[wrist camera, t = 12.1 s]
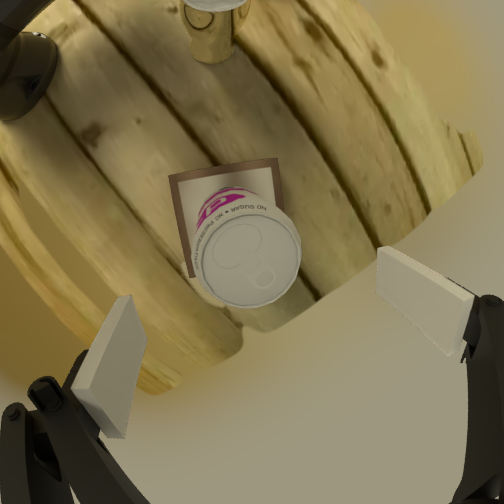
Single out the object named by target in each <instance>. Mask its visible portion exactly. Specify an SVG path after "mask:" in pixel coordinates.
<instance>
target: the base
mask: <svg viewBox="0 0 504 504" xmlns="http://www.w3.org/2000/svg"><path fill="white" fill-rule="evenodd" d="M169 182H170V188H171V193H172V199H173V204H174V209H175V214H176V219H177V224H178V229H179V234H180V239H181V243H182V248H183V252H184V257H185V261H186V265H187V269H188V274H189V278H193V277H196V276H195V272H194V268H193V264H192V259H191V254H192V248H193V241H194V235H195V230H196V225H197V220H198V214H199V209H200V208H201V206H202V204H203V203H204V201H205V199H206V198H207V197H208V196H210V195H211V194H212V193H213V192H214V191H216V190H219V189H222V188H224V187H227V186H231V187H242V188H245V189H247V190H250V191H252V192H254V193H255V194H257V195H259V196H260V197H262V198H263V199H265V200H267V201H268V202H270V203H271V204H273V205H274V206H276V207H278V208H279V209H280V210H281V211H282V212H283V213H284V206H283V198H282V190H281V182H280V174H279V166H278V159H277V158H271V159H263V160H255V161H248V162H241V163H234V164H228V165H221V166H215V167H210V168H204V169H198V170H193V171H188V172H183V173H178V174H173V175H169Z"/></svg>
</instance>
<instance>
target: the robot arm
mask: <svg viewBox="0 0 504 504" xmlns="http://www.w3.org/2000/svg"><path fill="white" fill-rule="evenodd" d="M54 1H55V0H0V120H14V119H17V118H19V117H21V116H23V115H24V114H26V113H27V112H28V111H29V110H30V109H31V108H33V106H34V105H35V104H36V103H37V102H38V101H39V99H40V98H41V97H42V95H43V94H44V92H45V91H46V89H47V87H48V85H49V83H50V81H51V79H52V77H53V74H54V71H55V67H56V63H57V48H56V45H55V43H54V42H53V40H52V39H50V38H49V37H48V36H46V35H45V34H42V33H39V32H21V31H22V30H23V29H24V28H25V27H26V26H27V25H28V24H29V23H30V22H31V21H32V20H33V19H34V18H35V17H37V16H38V15H39V14H40V13H41V12H42V11H43V10H44V9H45V8H47V7H48V6H49V5H50V4H51V3H52V2H54ZM376 293H377V294H378V295H379V296H381V297H382V298H383V299H384V300H385V301H386V302H387V303H389V304H390V305H391V306H392V307H393V308H394V309H396V310H397V311H398V312H399V313H400V314H401V315H403V316H404V317H405V318H406V319H407V320H408V321H409V322H411V323H412V324H413V325H414V326H415V327H416V328H417V329H418V330H419V331H421V332H422V333H423V334H424V335H425V336H426V337H427V338H428V339H430V340H431V341H432V342H433V343H434V344H435V345H436V346H437V347H438V348H439V349H441V351H442V352H444V353H445V354H446V355H447V356H450V355H451V354H453V353H455V352H457V351H458V350H459V348H460V346H461V343H462V339H464V340H465V341H466V342H467V345H466V347H465V350H464V353H463V355H462V358H461V363H463V360H464V358H466V364H467V378H468V430H467V445H466V455H465V464H464V471H463V476H462V480H461V482H460V484H459V486H458V488H457V490H456V492H455V494H454V496H453V499H452V502H450V503H449V504H504V301H502V299H500V298H499V297H497V296H494V295H483V296H482V297H481V298H480V297H478V296H477V295H475V294H474V293H472V292H470V291H469V290H467V289H465V288H464V287H461V285H459V284H457V283H455V282H454V281H452V280H450V279H449V278H446V277H443V276H441V275H440V274H438V273H436V272H435V271H433V270H431V269H430V268H428V267H426V266H424V265H422V264H421V263H419V262H417V261H415V260H414V259H412V258H410V257H408V256H406V255H405V254H403V253H401V252H399V251H397V250H395V249H393V248H392V247H390V246H385V247H380V248H377V275H376ZM146 344H147V336H146V334H145V331H144V329H143V326H142V323H141V321H140V318H139V315H138V313H137V310H136V307H135V304H134V301H133V298H132V295H127V296H121V297H118V298H117V300H116V301H115V303H114V305H113V307H112V308H111V310H110V312H109V314H108V315H107V317H106V319H105V321H104V323H103V325H102V326H101V328H100V330H99V332H98V334H97V336H96V338H95V339H94V341H93V343H92V345H91V347H90V349H88V350H84V351H83V352H82V353H81V354H80V355H79V356H78V357H77V359H76V361H75V362H74V364H73V367H72V368H71V370H70V373H69V374H68V376H67V378H66V380H65V382H64V384H63V386H62V388H61V387H60V386H59V384H58V383H57V381H56V380H55V378H54V377H51V376H44V377H41V378H39V379H37V380H36V381H34V382H33V383H32V384H31V385H30V387H29V389H28V394H27V395H28V397H29V398H30V400H31V401H32V402H33V404H34V405H35V406H36V408H37V409H38V410H33V411H28V410H27V409H26V408H25V407H24V405H23V404H22V403H19V402H17V403H13V404H11V405H9V406H8V407H6V409H5V410H4V412H3V415H2V420H1V430H0V493H1V503H2V504H74V500H73V496H72V493H71V489H70V486H71V488H72V490H73V491H74V493H75V495H76V497H77V499H78V500H79V502H80V504H150V503H149V502H148V500H147V499H146V498H145V497H144V496H143V495H142V494H141V492H140V491H139V490H138V489H137V488H136V487H135V485H134V484H133V483H132V482H131V481H130V479H129V478H128V477H127V475H126V474H125V473H124V472H123V470H122V469H121V468H120V466H119V465H118V463H117V462H116V461H115V459H114V458H113V457H112V455H111V454H110V452H109V451H108V449H107V448H106V446H105V445H104V443H103V442H102V441H101V440H100V438H99V437H98V436H99V432H100V429H101V431H102V432H103V433H104V434H105V435H106V436H107V438H122V439H125V435H126V430H127V425H128V420H129V414H130V410H131V405H132V400H133V396H134V392H135V387H136V383H137V379H138V375H139V371H140V367H141V363H142V359H143V355H144V351H145V347H146ZM69 484H70V485H69ZM497 496H499V499H495V498H496V497H497Z"/></svg>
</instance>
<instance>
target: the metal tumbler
mask: <svg viewBox="0 0 504 504" xmlns="http://www.w3.org/2000/svg"><path fill="white" fill-rule="evenodd" d="M250 3H251V0H179V6H180V15H181V19H182V22H183V25H184V27H185V29H186V31H187V32H188V34H189V35H190V37H191V38H192V39H191V42H190V52H191V54H192V55H193V57H194V58H195V59H196V60H198V61H200V62H202V63H206V64H216V63H220V62H222V61H224V60H226V59H227V58H229V57H230V56H231V54H232V53H233V51H234V47H235V42H234V37H235V36H236V34H237V33H238V32H239V30H240V29H241V27H242V26H243V24H244V22H245V20H246V18H247V15H248V12H249V8H250Z"/></svg>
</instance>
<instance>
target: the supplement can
mask: <svg viewBox="0 0 504 504" xmlns="http://www.w3.org/2000/svg"><path fill="white" fill-rule="evenodd" d="M301 257H302V250H301V238H300V236H299V233H298V231H297V229H296V227H295V225H294V223H293V221H292V220H291V219H290V218H289V217H288V216H287V215H285V214H284V213H283V212H282V211H281V210H280V209H279V208H278V207H276V206H274V205H273V204H271V203H270V202H268V201H267V200H265V199H263V198H262V197H260V196H259V195H257V194H255V193H254V192H252V191H250V190H247V189H245V188H242V187H231V186H227V187H224V188H222V189H219V190H216V191H214V192H213V193H212V194H211V195H210V196H208V197H207V198H206V199H205V201H204V203H203V204H202V206H201V208H200V209H199V214H198V220H197V225H196V230H195V235H194V241H193V248H192V254H191V259H192V264H193V268H194V272H195V276H196V277H197V279H198V280H199V282H200V283H201V285H202V286H203V288H204V289H205V291H207V292H208V293H210V294H211V295H212V296H214V297H215V298H217V299H218V300H220V301H222V302H223V303H225V304H227V305H231V306H234V307H238V308H241V309H242V308H259V307H261V306H264V305H267V304H270V303H272V302H274V301H276V300H277V299H278V298H279V297H281V296H282V295H283V294H285V293H286V292H287V291H288V289H289V288H290V286H291V285H292V283H293V282H294V281H295V279H296V277H297V273H298V269H299V266H300V261H301Z"/></svg>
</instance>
